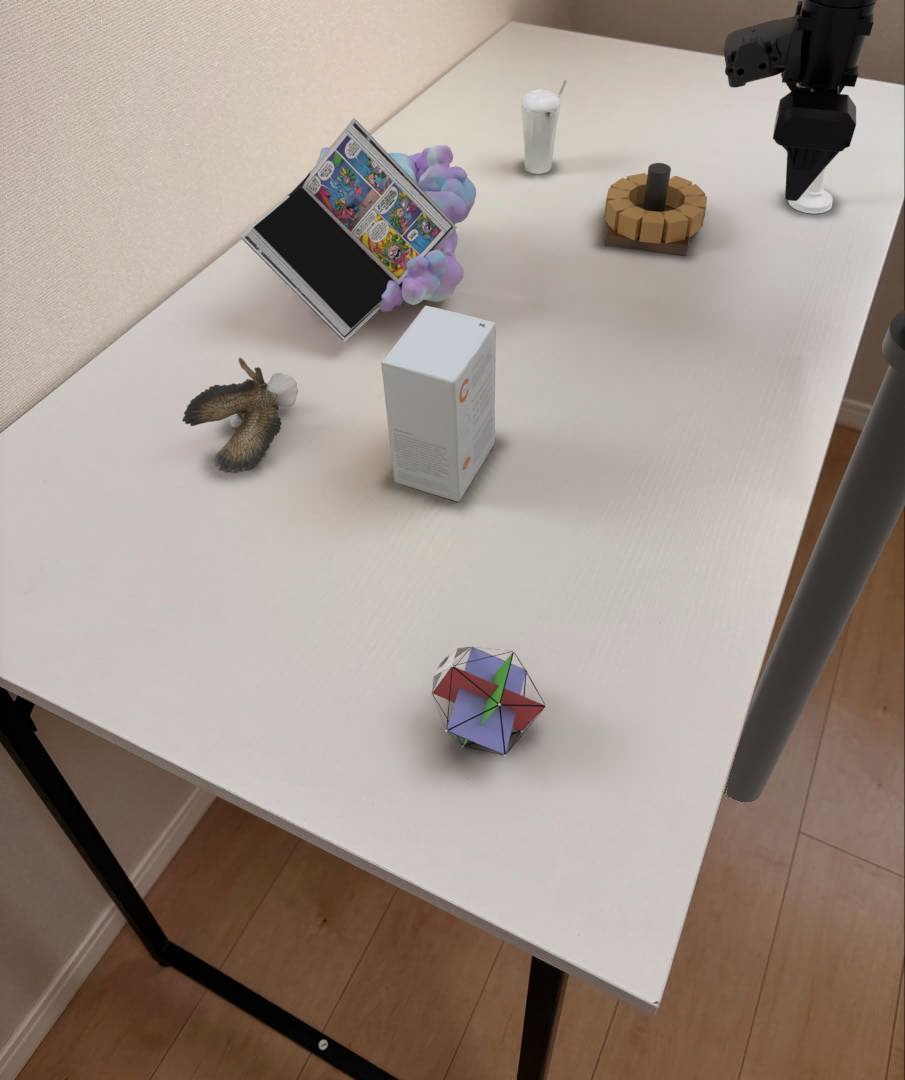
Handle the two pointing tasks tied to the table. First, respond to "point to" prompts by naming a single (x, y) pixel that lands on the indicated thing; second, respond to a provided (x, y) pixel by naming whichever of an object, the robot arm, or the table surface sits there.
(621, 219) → the segmented wooden ring
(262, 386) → the eagle figurine
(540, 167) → the milkshake
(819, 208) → the chess piece
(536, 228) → the table surface
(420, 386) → the small box
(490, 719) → the geometric puzzle
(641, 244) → the dark wooden peg stand
